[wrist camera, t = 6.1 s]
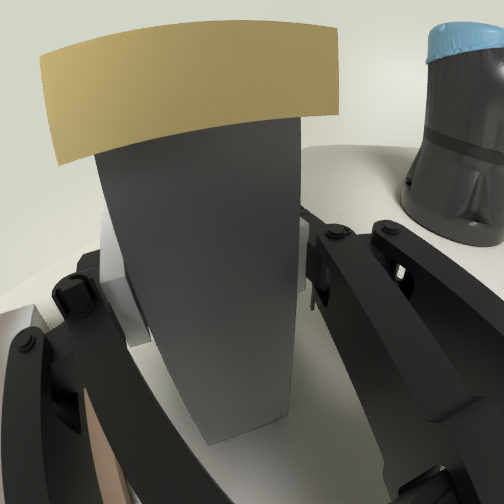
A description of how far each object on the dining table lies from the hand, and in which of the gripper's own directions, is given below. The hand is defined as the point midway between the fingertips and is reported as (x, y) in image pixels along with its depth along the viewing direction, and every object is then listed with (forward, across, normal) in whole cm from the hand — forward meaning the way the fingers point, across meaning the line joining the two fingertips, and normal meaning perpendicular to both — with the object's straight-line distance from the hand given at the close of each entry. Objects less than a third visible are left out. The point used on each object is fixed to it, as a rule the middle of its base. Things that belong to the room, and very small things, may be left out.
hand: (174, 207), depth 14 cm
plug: (-5, 0, -9) cm, 10 cm away
